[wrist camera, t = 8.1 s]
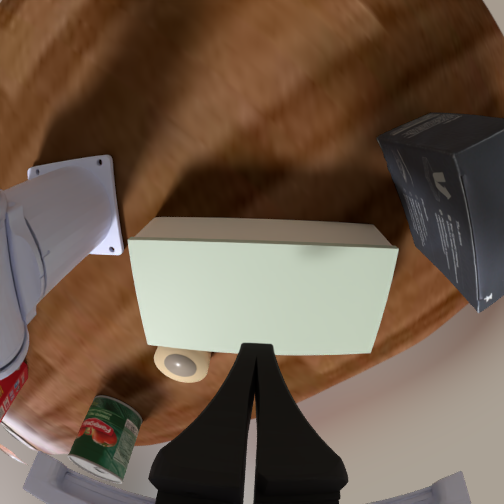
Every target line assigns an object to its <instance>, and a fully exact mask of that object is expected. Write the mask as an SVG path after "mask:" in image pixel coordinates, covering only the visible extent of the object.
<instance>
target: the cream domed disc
mask: <svg viewBox="0 0 504 504" xmlns="http://www.w3.org/2000/svg"><path fill="white" fill-rule="evenodd" d="M211 353H212V352H211V351H200V350H189V349H180V348H171V347H163V346H158V348H157V350H156V353H155V355H154V361H155V364H156V366H157V368H158V369H159V370H160V371H161V372H162V373H163V374H165V375H166V376H168V377H170V378H171V379H174V380H177V381H180V382H197V381H200V380H202V379H203V378H204V377H205V376H206V374H207V371H208V367H209V362H210V357H211Z"/></svg>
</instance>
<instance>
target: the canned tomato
mask: <svg viewBox="0 0 504 504" xmlns="http://www.w3.org/2000/svg"><path fill="white" fill-rule="evenodd" d="M141 424H142V418H141V416H140V415H139V413H138V412H137V411H136V410H134V409H133V408H132V407H130V406H129V405H127V404H126V403H124V402H122V401H120V400H118V399H115V398H113V397H109V396H104V395H99V396H96V397H95V398H94V400H93V403H92V405H91V406H90V409H89V411H88V413H87V415H86V417H85V419H84V422H83V423H82V426H81V428H80V430H79V432H78V435H77V437H76V439H75V441H74V444H73V446H72V448H71V451H70V453H69V454H68V458H69V459H70V460H71V461H72V462H73V463H74V464H76V465H77V466H78V467H80V468H81V469H83V470H85V471H87V472H88V473H90V474H92V475H94V476H97V477H99V478H101V479H104V480H106V481H109V482H113V483H117V484H121V483H123V478H124V475H125V473H126V469H127V465H128V463H129V459H130V456H131V454H132V450H133V447H134V444H135V441H136V438H137V435H138V432H139V429H140V426H141Z"/></svg>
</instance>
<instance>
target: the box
mask: <svg viewBox="0 0 504 504" xmlns="http://www.w3.org/2000/svg"><path fill="white" fill-rule="evenodd" d="M377 141H378V143H379V145H380V147H381V149H382V151H383V153H384V157H385V159H386V161H387V167H388V170H389V172H390V173H391V176H392V180H393V182H394V183H395V187H396V189H397V192H398V194H399V197H400V199H401V203H402V206H403V208H404V211H405V214H406V218H407V220H408V223H409V228H410V231H411V234H412V237H413V240H414V244H415V246H416V247H417V248H418V249H419V250H420V251H421V252H422V253H423V254H424V255H425V256H426V257H427V258H428V259H429V260H430V261H431V262H432V263H433V264H434V265H435V266H436V267H437V268H438V269H439V270H440V271H441V272H442V273H443V274H444V275H445V276H446V277H447V278H448V279H449V280H450V282H451V283H452V284H453V285H454V286H455V287H456V288H457V289H458V290H459V291H460V293H461V294H462V295H463V296H464V297H465V298H466V299H467V301H468V302H469V303H470V304H471V305H472V306H473V307H474V308H475V309H476V311H477V312H478V313H480V312H481V311H483V310H484V309H486V308H487V307H489V306H490V305H492V304H493V303H494V302H496V301H497V300H498V299H499V298H501V297H502V296H503V295H504V118H494V117H486V116H478V115H469V114H455V113H429V114H427V115H424V116H422V117H419V118H417V119H415V120H413V121H410V122H408V123H406V124H403V125H401V126H399V127H397V128H394V129H392V130H390V131H388V132H386V133H384V134H381V135H379V136H378V137H377Z"/></svg>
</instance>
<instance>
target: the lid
mask: <svg viewBox="0 0 504 504" xmlns="http://www.w3.org/2000/svg"><path fill="white" fill-rule="evenodd" d="M128 247H129V253H130V260H131V266H132V272H133V278H134V283H135V289H136V294H137V299H138V304H139V309H140V313H141V318H142V322H143V327H144V331H145V335H146V339H147V343H148V345H155V346H163V347H171V348H180V349H189V350H200V351H211V352H225V353H239V350H240V347H241V344H242V343H265V344H272V345H273V347H274V353H275V355H338V354H360V353H371V350H372V347H373V344H374V341H375V338H376V335H377V332H378V329H379V326H380V322H381V319H382V315H383V312H384V308H385V305H386V301H387V297H388V294H389V290H390V286H391V282H392V278H393V273H394V269H395V265H396V260H397V255H398V251H399V249H398V248H397V247H396V246H388V245H367V244H344V243H320V242H294V241H266V240H235V239H200V238H159V237H130V238H129V239H128Z"/></svg>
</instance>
